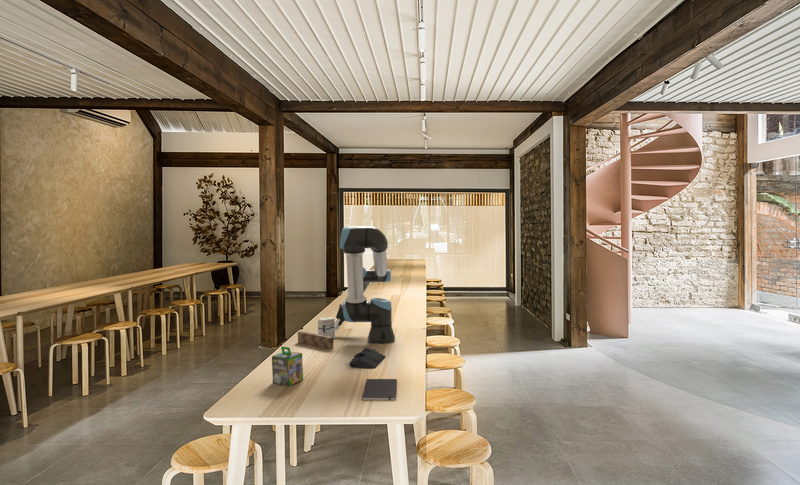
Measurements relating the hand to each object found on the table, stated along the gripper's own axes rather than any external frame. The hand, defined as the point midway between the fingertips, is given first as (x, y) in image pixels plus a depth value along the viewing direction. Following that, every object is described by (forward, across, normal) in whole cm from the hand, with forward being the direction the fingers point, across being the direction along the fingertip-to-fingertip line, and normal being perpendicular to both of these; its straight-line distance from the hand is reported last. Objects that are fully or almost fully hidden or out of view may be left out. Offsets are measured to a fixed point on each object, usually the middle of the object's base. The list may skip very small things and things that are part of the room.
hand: (334, 329), depth 280 cm
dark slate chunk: (+22, -48, +16) cm, 55 cm away
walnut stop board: (+18, -6, +12) cm, 22 cm away
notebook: (+41, -79, +34) cm, 95 cm away
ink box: (+8, 0, +2) cm, 8 cm away
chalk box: (+51, -41, +45) cm, 79 cm away
